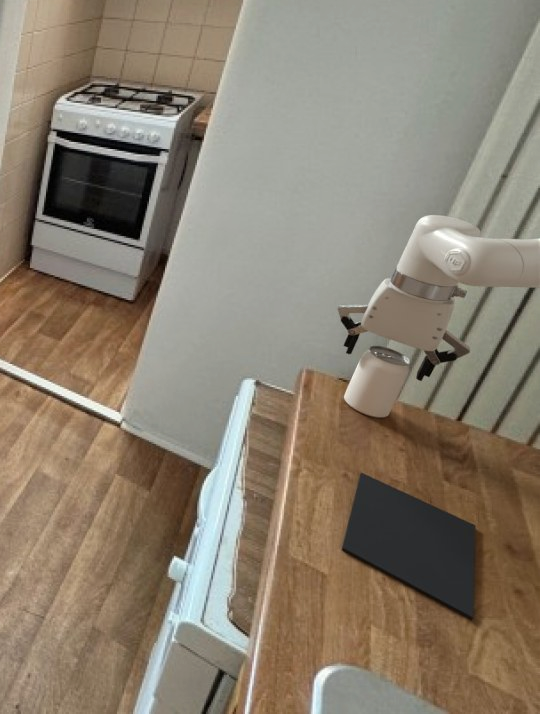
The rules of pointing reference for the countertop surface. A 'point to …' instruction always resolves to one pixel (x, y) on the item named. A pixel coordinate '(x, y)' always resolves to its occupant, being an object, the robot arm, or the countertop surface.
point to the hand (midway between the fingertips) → (383, 363)
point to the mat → (413, 543)
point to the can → (377, 381)
